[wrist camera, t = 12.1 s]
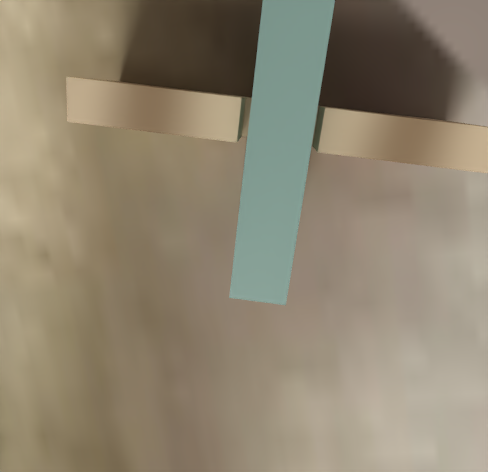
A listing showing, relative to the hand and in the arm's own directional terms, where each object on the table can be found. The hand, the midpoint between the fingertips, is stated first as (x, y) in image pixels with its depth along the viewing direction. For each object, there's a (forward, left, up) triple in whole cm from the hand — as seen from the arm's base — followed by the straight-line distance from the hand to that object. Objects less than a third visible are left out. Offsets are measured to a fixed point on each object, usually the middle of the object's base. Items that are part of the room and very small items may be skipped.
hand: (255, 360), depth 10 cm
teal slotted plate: (0, +5, -19) cm, 19 cm away
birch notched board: (0, +5, -19) cm, 19 cm away
